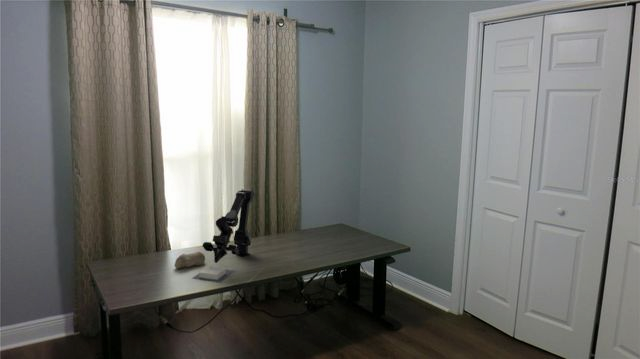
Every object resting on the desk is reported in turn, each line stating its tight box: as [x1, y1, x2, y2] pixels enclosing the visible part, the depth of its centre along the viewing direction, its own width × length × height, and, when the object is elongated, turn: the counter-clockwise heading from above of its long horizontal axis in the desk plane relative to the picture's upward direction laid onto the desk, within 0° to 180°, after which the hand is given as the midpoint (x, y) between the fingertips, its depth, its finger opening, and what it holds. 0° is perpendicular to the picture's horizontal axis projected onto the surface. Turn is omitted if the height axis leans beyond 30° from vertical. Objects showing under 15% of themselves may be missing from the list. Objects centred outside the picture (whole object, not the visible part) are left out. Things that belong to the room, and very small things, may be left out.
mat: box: [191, 268, 236, 283], centre depth 233 cm, size 18×16×1 cm
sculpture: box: [174, 251, 206, 270], centre depth 243 cm, size 9×17×10 cm
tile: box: [198, 265, 227, 280], centre depth 230 cm, size 3×10×10 cm
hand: (215, 262), depth 233 cm, fingers closed
